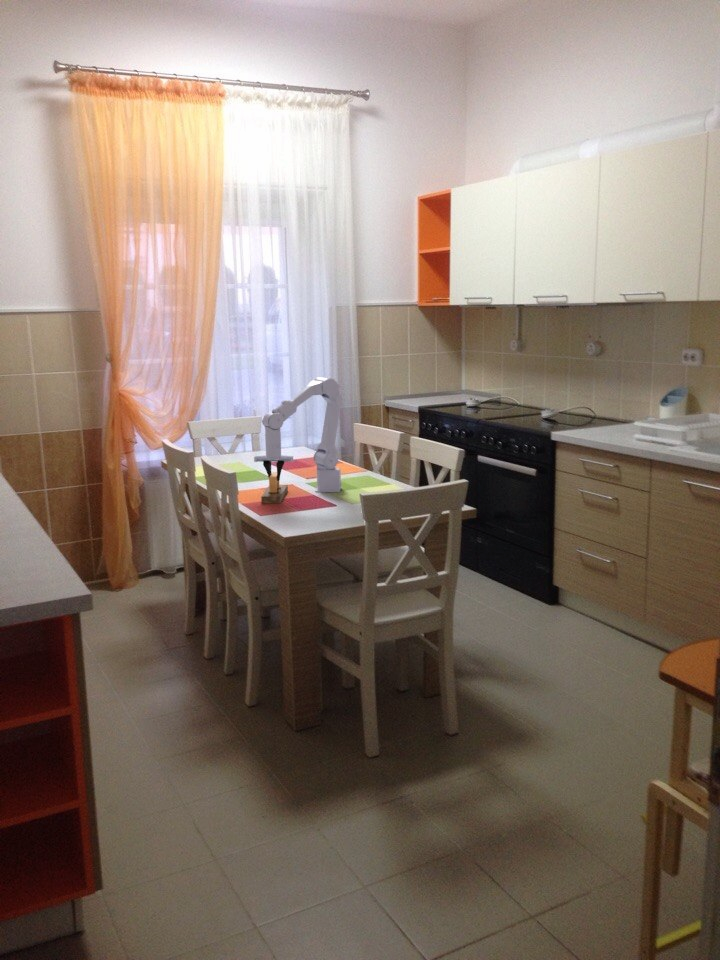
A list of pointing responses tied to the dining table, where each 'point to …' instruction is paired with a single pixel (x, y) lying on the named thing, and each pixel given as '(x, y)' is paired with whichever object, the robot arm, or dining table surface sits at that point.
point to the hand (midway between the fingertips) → (274, 480)
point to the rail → (274, 495)
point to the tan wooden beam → (273, 482)
